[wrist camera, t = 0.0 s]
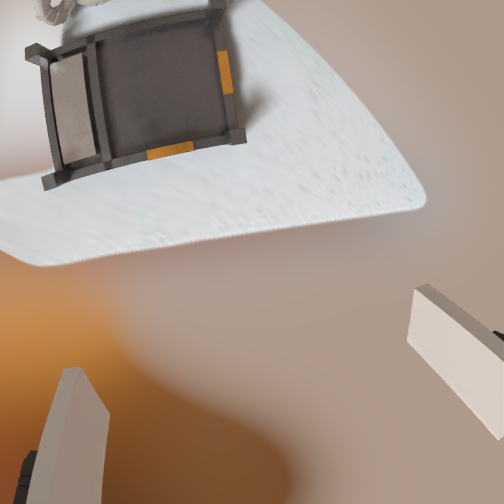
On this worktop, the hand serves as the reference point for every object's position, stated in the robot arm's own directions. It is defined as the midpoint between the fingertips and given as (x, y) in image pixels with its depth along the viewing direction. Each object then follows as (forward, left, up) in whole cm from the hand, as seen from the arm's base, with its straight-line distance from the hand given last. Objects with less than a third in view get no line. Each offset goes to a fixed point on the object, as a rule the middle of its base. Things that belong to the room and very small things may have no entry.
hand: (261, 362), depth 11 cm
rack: (-14, -6, -28) cm, 32 cm away
